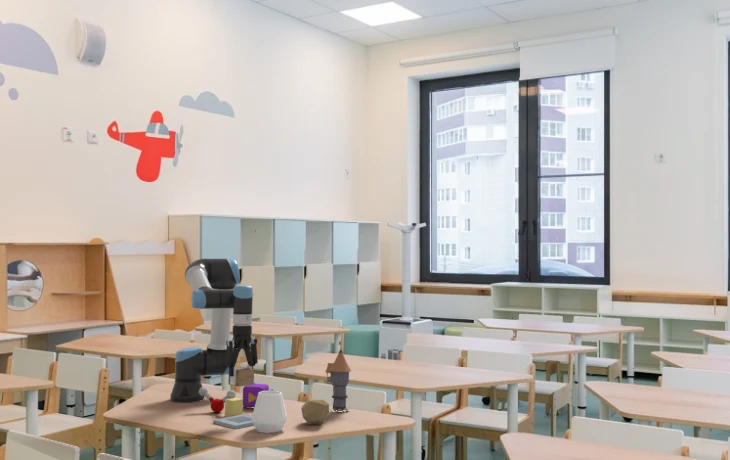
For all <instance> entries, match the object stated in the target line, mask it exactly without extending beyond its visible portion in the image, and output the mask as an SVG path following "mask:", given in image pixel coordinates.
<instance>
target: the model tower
mask: <svg viewBox="0 0 730 460" xmlns="http://www.w3.org/2000/svg"><path fill="white" fill-rule="evenodd" d="M338 346H342V341H338ZM343 352H344V351H343V350H342V347H340V349H339V351H338V353H337V356H336V357H335V359H334V362H332V363H330V362H328V363H327V367H326V369H325V373H326V383H325V384H328V385H331V386H332V392H333V393H332V395H331V398H332V401H333V402H332V409H333V410H334V411H336V410H337V411H343V410H346V411H347V410H349V407H347V398H348V395H347V386H348V384H349V382H350V373H351V372H352V369H351V367H350V366H349V364H348V362H347V360H346V358H345V356H344V353H343ZM329 374H330V376H328V375H329ZM349 411H350V410H349Z"/></svg>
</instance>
